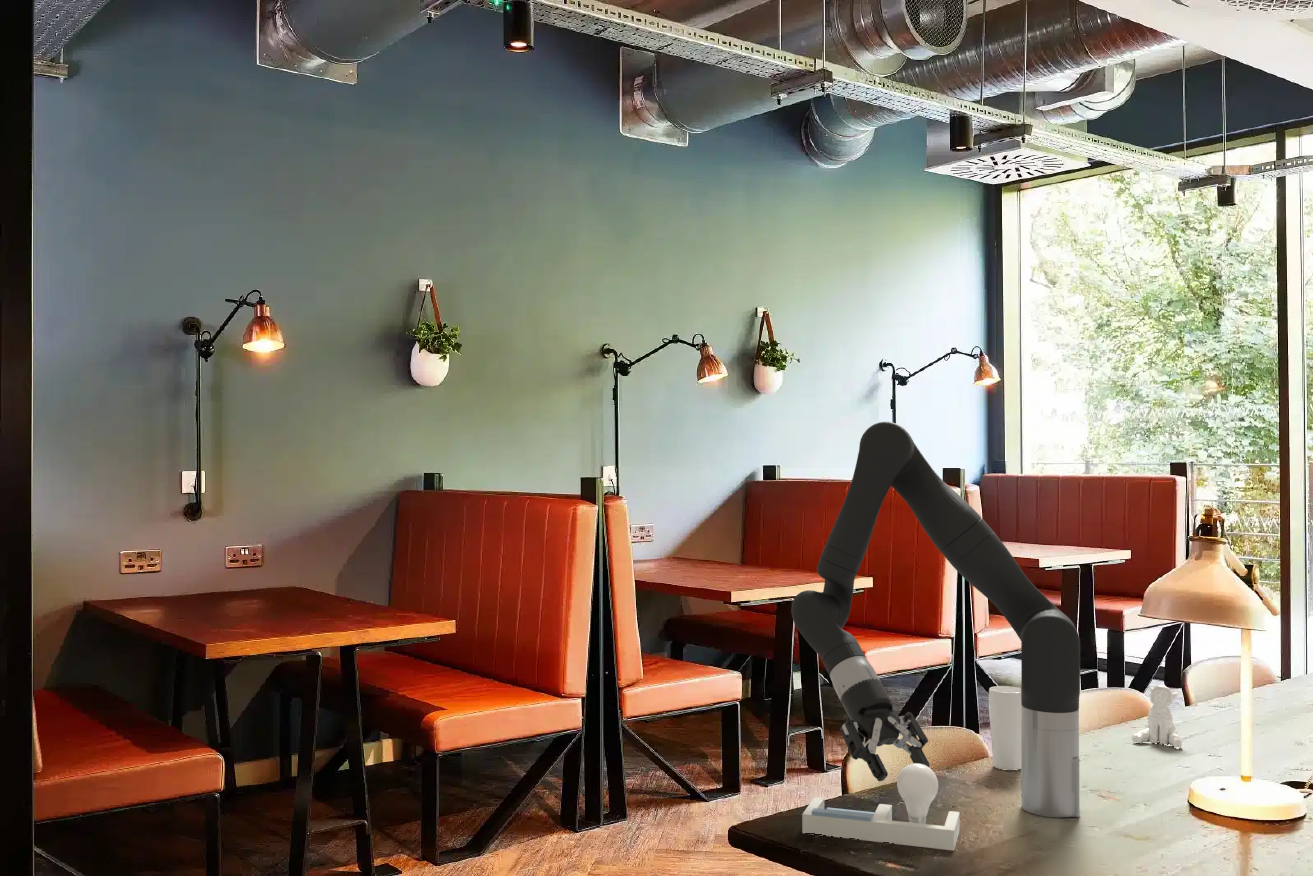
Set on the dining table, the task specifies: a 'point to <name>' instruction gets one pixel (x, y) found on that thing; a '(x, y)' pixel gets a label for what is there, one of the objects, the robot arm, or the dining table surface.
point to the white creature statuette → (1160, 719)
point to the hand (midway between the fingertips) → (904, 775)
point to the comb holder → (879, 826)
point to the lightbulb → (917, 790)
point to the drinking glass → (1005, 726)
